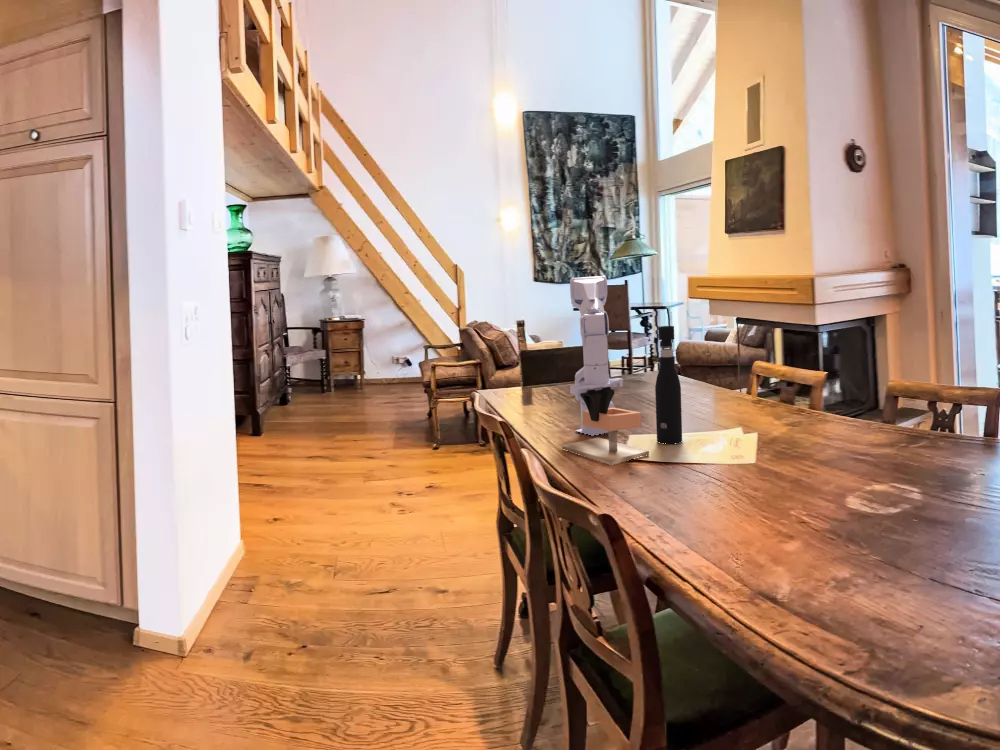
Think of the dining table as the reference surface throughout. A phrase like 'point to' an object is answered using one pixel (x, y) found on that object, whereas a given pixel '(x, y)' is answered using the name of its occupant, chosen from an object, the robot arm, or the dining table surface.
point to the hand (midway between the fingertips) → (598, 420)
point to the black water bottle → (668, 392)
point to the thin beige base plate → (606, 449)
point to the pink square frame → (614, 419)
